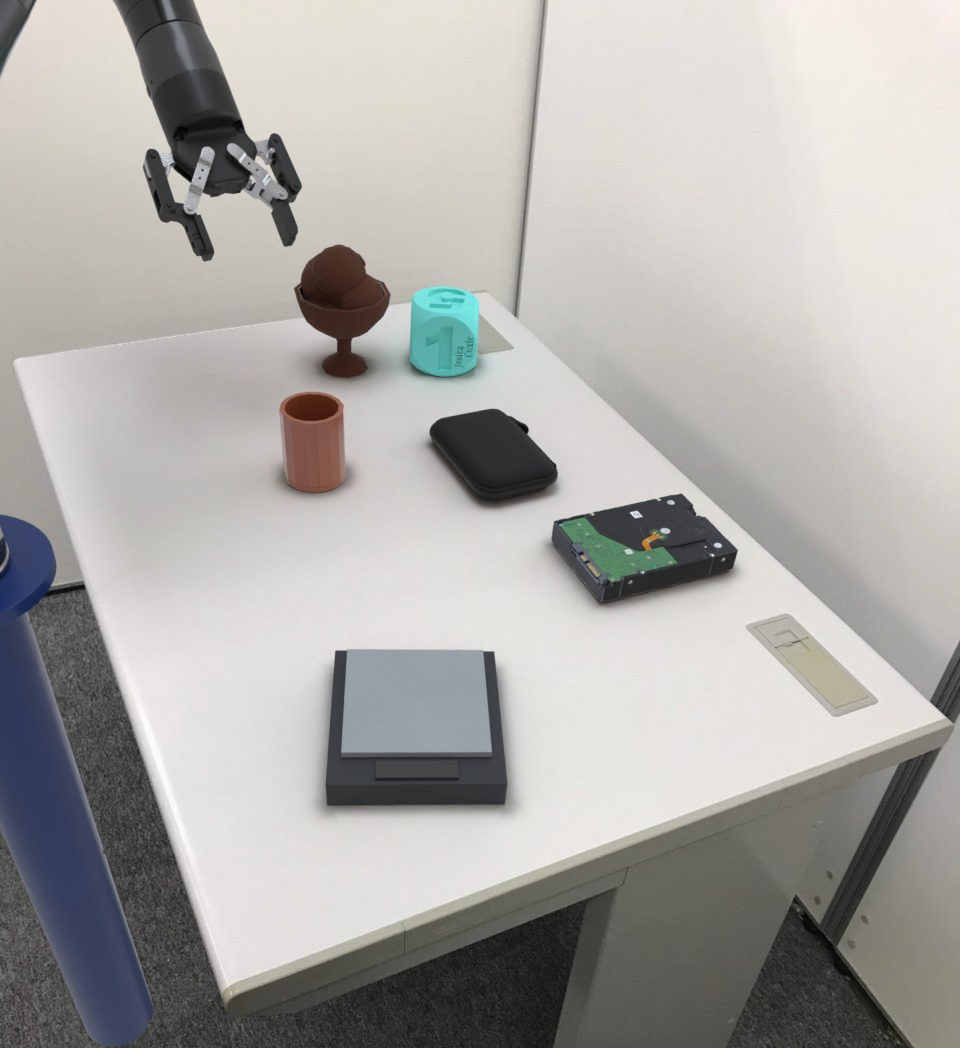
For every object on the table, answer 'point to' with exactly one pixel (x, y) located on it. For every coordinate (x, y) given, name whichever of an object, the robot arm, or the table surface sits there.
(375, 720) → the scale
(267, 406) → the table surface
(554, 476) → the carrying case
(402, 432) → the table surface
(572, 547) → the disk drive
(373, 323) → the ice cream bowl
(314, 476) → the cup
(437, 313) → the decorative dice
